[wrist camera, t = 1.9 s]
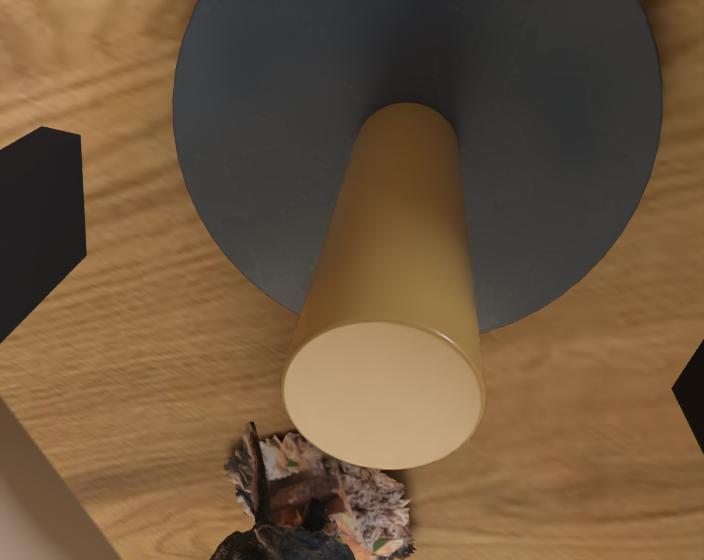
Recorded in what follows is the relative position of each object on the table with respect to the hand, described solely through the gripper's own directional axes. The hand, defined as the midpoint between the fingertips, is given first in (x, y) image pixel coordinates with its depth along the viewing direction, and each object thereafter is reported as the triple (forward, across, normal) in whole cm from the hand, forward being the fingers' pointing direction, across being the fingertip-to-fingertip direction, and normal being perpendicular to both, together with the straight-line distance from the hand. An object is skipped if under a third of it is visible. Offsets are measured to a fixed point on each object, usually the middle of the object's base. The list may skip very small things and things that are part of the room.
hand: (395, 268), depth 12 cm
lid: (+7, 0, 0) cm, 7 cm away
